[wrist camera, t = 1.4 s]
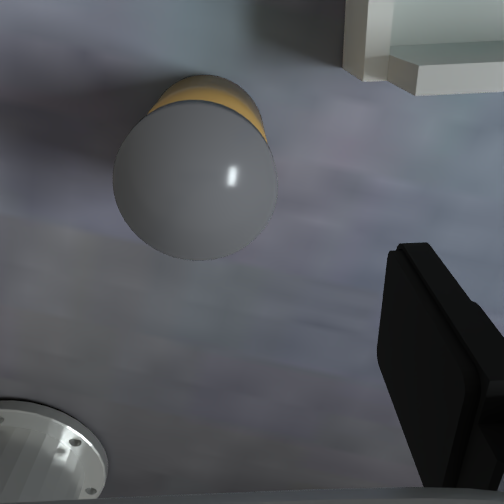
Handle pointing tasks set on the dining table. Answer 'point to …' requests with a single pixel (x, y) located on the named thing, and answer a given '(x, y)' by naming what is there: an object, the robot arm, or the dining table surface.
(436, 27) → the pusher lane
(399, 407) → the robot arm
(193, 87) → the amber jar
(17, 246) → the dining table surface
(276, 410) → the dining table surface
